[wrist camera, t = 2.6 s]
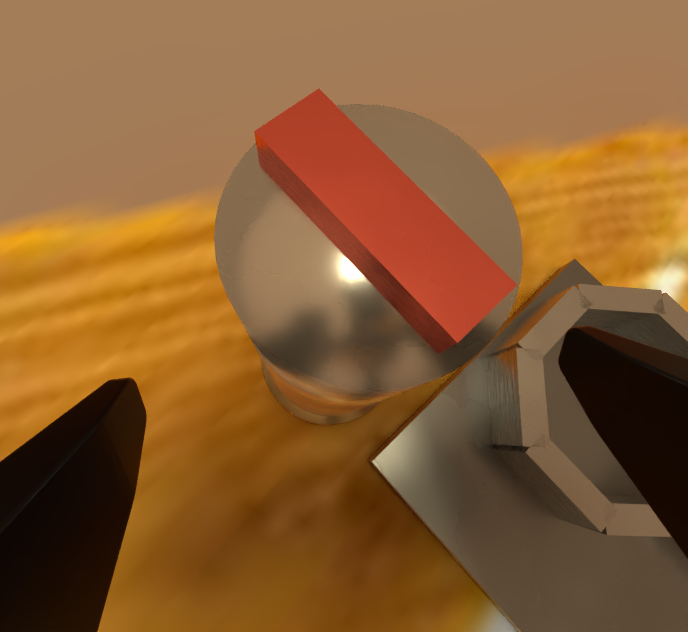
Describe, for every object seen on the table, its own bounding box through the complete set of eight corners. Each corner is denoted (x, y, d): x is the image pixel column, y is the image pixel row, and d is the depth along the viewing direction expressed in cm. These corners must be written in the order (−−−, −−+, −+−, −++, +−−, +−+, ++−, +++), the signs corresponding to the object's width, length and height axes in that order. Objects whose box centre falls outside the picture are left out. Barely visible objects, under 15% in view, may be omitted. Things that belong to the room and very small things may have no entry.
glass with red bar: (411, 366, 19) (644, 230, 6) (322, 452, 17) (377, 511, 5) (331, 280, 19) (388, -5, 7) (239, 356, 18) (91, 180, 5)
